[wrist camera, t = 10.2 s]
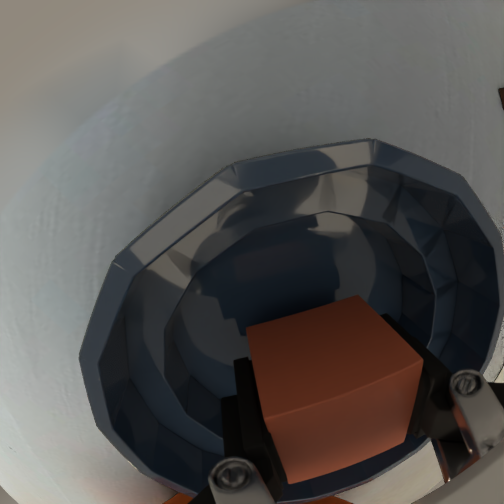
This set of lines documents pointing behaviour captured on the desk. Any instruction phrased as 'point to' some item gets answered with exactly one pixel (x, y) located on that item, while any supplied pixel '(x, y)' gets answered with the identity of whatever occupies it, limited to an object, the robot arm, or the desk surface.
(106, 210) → the desk surface
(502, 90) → the brown paddle
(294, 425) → the block
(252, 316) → the faceted gray tray
